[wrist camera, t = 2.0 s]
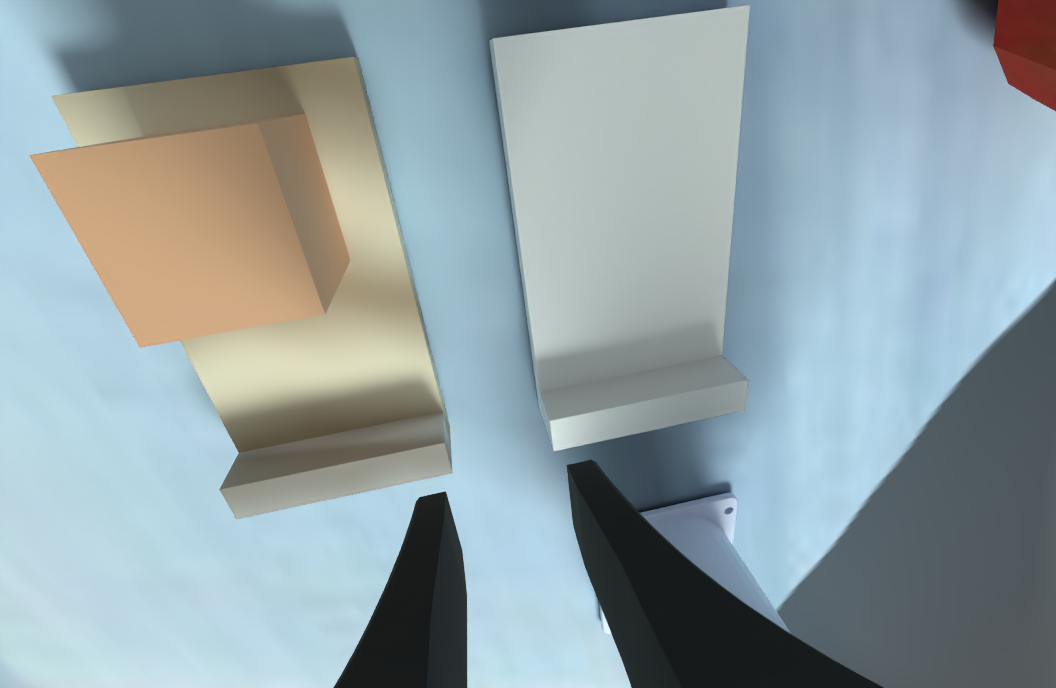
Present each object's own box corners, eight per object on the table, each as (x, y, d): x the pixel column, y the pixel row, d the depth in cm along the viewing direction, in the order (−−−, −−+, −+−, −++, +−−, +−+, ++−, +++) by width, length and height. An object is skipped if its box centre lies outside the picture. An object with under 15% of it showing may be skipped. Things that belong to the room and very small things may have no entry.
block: (350, 260, 16) (325, 314, 13) (211, 284, 16) (139, 347, 12) (305, 113, 14) (257, 123, 10) (142, 136, 14) (28, 155, 10)
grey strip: (708, 373, 23) (744, 410, 20) (538, 407, 22) (553, 451, 19) (732, 9, 16) (791, -7, 13) (489, 41, 15) (501, 31, 13)
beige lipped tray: (449, 426, 21) (452, 472, 19) (261, 464, 21) (236, 519, 18) (358, 58, 15) (342, 52, 12) (74, 95, 14) (-8, 96, 11)
